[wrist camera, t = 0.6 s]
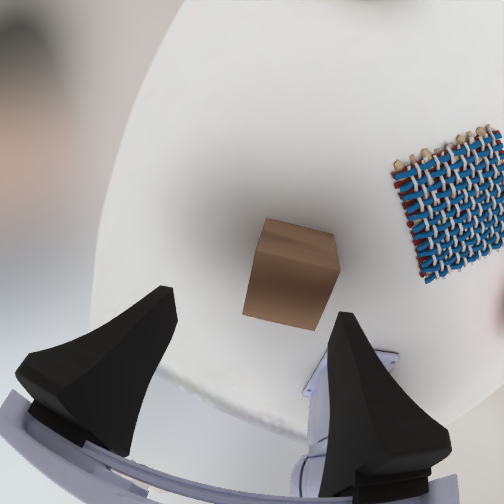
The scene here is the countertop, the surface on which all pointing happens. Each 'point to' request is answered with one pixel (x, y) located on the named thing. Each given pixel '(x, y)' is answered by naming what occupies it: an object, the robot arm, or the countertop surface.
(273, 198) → the countertop surface
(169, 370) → the countertop surface
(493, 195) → the woven mat
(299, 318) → the walnut block
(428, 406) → the countertop surface
